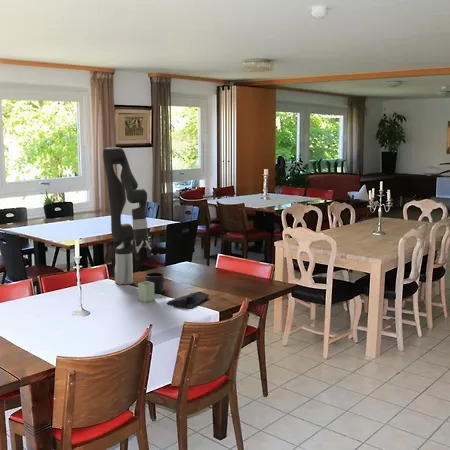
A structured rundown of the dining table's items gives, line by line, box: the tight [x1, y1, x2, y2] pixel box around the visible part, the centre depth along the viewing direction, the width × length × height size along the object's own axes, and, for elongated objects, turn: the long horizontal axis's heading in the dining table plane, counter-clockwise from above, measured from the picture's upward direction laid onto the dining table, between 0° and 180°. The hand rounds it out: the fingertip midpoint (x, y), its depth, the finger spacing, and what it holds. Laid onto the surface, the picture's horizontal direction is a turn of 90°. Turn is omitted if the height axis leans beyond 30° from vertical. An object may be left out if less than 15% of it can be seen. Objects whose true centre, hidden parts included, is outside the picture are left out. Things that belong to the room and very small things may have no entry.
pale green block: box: [137, 280, 155, 304], centre depth 278 cm, size 6×6×9 cm
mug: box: [144, 272, 165, 294], centre depth 296 cm, size 9×12×9 cm
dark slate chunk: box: [166, 291, 210, 310], centre depth 277 cm, size 15×22×5 cm
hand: (143, 258), depth 292 cm, fingers open, 8 cm apart
